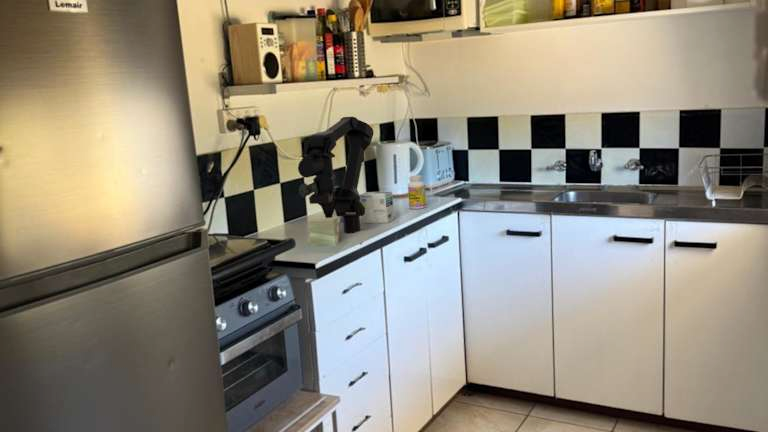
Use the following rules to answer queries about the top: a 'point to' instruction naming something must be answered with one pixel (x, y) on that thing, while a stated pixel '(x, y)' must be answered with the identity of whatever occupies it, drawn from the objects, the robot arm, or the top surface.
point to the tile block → (324, 231)
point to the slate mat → (320, 248)
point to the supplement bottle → (416, 193)
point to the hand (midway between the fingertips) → (328, 221)
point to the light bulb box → (377, 207)
